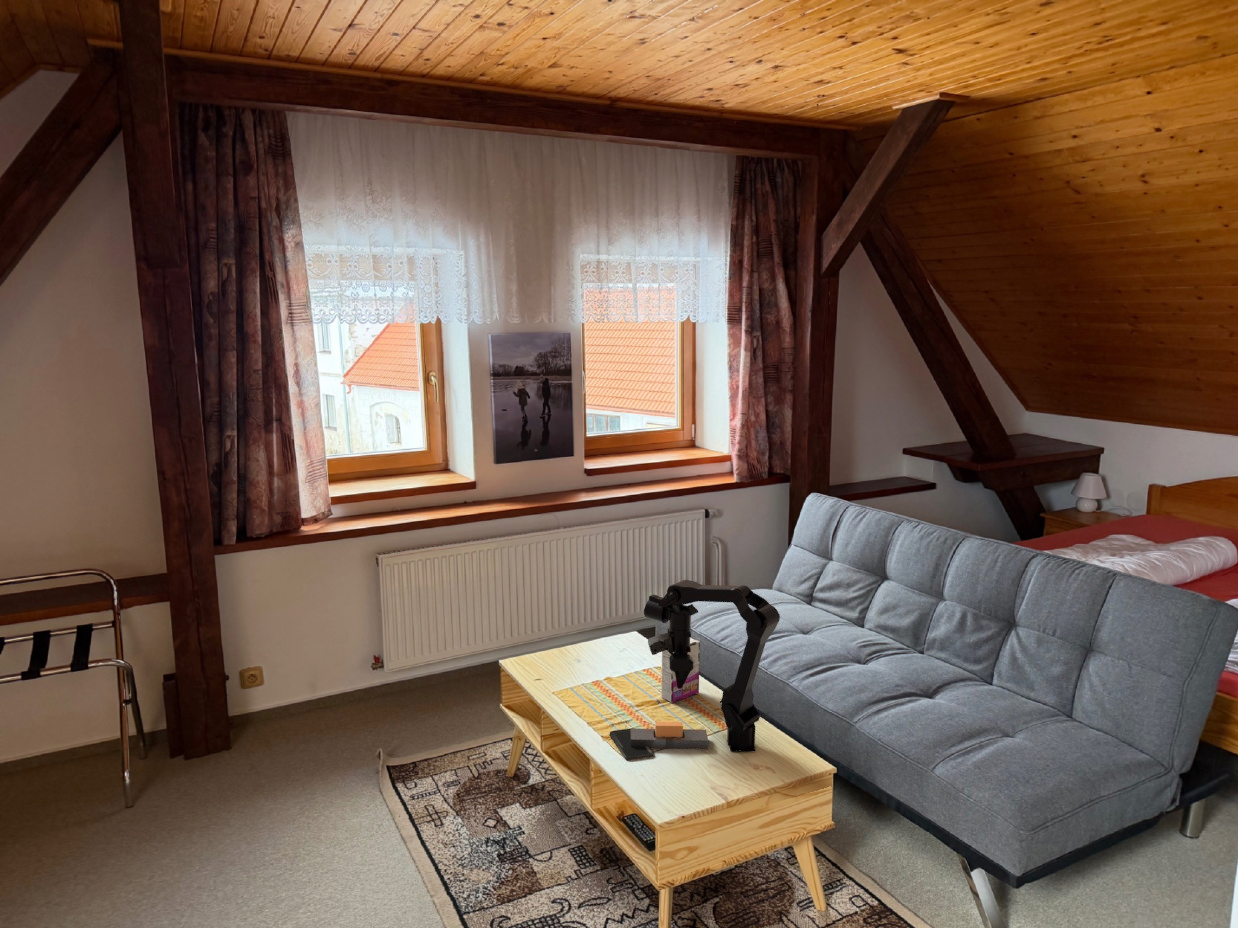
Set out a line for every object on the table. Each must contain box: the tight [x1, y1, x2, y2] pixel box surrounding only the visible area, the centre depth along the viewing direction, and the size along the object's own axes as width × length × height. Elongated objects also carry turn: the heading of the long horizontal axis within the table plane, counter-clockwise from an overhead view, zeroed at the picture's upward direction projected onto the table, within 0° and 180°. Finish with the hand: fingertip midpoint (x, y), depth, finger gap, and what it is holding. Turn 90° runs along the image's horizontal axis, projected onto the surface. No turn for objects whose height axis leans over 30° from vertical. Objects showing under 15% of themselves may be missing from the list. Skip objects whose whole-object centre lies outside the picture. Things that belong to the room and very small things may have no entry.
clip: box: [654, 721, 684, 738], centre depth 234 cm, size 7×2×6 cm, turn 91°
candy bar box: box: [661, 636, 701, 704], centre depth 262 cm, size 11×5×16 cm, turn 129°
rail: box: [630, 728, 709, 750], centre depth 234 cm, size 20×6×2 cm, turn 90°
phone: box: [609, 727, 655, 761], centre depth 233 cm, size 8×1×15 cm
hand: (678, 681), depth 244 cm, fingers open, 9 cm apart
